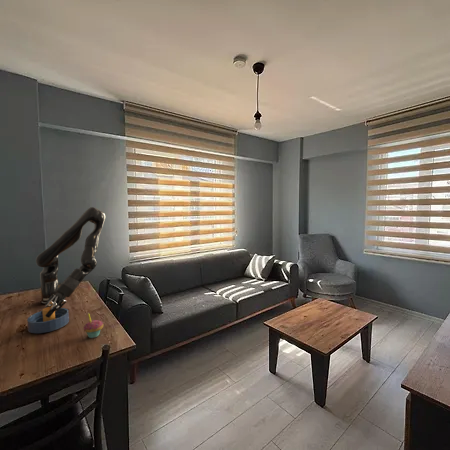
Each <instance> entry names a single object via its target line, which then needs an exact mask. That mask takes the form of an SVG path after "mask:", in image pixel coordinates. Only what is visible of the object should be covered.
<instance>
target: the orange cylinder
mask: <svg viewBox="0 0 450 450" xmlns="http://www.w3.org/2000/svg"><path fill="white" fill-rule="evenodd" d="M45 307H46V306H45ZM45 307H44V308H42V309H41V311H43V322H45V321H50V320H53V319H55V311H54V313H53V314H52V315H51V316H50V317H49V318H48V317H46V316H45V315H46V314H47V313H48V311H49V310H50V309H51V308H52V307H46V308H45Z"/></svg>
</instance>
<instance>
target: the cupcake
mask: <svg viewBox="0 0 450 450" xmlns="http://www.w3.org/2000/svg"><path fill="white" fill-rule="evenodd" d="M87 315H88V322H86V323H85V324H84V326H83V328H82V329H83V332H85V333H86V335H87V337H88V338H89V339H93V338H97V337H98V336H99V335H100V334H101V330H102V329H103V328H104V322H103V321H102V320H99V319H92V318H91V314H90V313H89V312H87Z"/></svg>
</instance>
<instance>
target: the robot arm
mask: <svg viewBox="0 0 450 450" xmlns="http://www.w3.org/2000/svg"><path fill="white" fill-rule="evenodd" d="M105 220H106V214H105V212H104V211H102V210H100V209H98V208H96V207H95V206H91V207H89V208H87V209H86V210H85V211H84V212H83V213H82V214H81V215H80V217H79V218H78V219H77V220H76V221H75V222H74V223H73V224H72V225H70V227H69V228H67V229H66V230H65V231H64V232H63V233H61V235H60V236H59V237H58V238H57V239H56V240H55V241H54V242H53V243H52V244H51V245H50V246H49V247H48V248H46V249H45V250H43V251H42V252H41V253H39V254H38V255H36V258H35V264H36V266H37V267H40V268H42V271H40V273H39V281H40V295H41V304H42V305H45V307H44V308H46V307H52V308H51V309H50V310H49V311H48V313H47V314H46V315H45V316H46V317H48V318H49V317H50V316H51V315H52V314H53V313H54V311H58V310H59V309H60V308H63V306H64V305H65V304H66V303H67V300H66V298H70V297H72V295H73V293H74V292H75V291H76V290H77V288H78V287H79V285H80V284H81V283H82V281H83V280H84V279H85V277H87V276H88V275H89V274H90V273H91V272H92V271H93V270H95V268H96V266H97V263H98V262H97V260H96V258H95V255H96V253H97V252H98V248H99V240H100V236H101V233H102V230H103V227H104V224H105ZM89 222H90V223H91V224H93V225H94V226H93V227H94V228H93V230H92V231H91V232H90V233H89V234H88V235H87V236H86V239H85V240H84V241H85V242H84V248H83V249H84V250H83V251H82V253H81V257H80V263H81V266H80V267H79V268H75V269H74V270H72V271H71V273H70V274H69V275H68V276H67V277H66V278H65V279H64V280H63V282H62V283H61V282H59V279H58V272H59V265H60V264H59V261H60V260H59V255H60V254H62V253H63V252H65V251H67V250H68V249H70V248H71V247H73V246H74V245H75V244H76V243H77V242H78V241H80V239H81V238H82V234H83V228H84V226H85V225H86V224H87V223H89ZM41 311H42V310H41ZM41 314H43V311H42V312H41Z"/></svg>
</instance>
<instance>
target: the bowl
mask: <svg viewBox="0 0 450 450" xmlns="http://www.w3.org/2000/svg"><path fill="white" fill-rule="evenodd" d="M41 312H42V310H41V311H37V312H35V313H33V314H31V315H30V316H28V317H27V319H26V323H27V331H28V332H29V333H30V334H44V333H45V334H46V333H49V332H53V331H56V330H59V329H61V328H63V327H65V326H66V325H68V324H69V322H70V313H69V312H70V310H69V309H68V308H66V307H65V308H64V307H61V308H60V309H59V310H58V311H55V319H53V320H50V321H45V322H43V314H41Z"/></svg>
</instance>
